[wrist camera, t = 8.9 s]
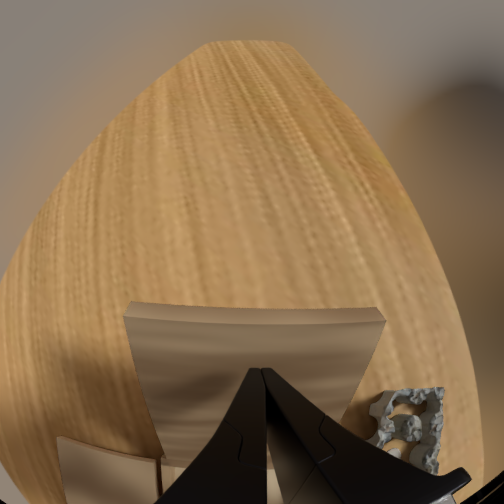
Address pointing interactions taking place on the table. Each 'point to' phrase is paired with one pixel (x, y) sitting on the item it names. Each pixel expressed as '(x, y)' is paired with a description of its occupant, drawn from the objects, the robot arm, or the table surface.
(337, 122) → the table surface
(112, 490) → the carton
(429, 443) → the egg carton
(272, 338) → the flap
